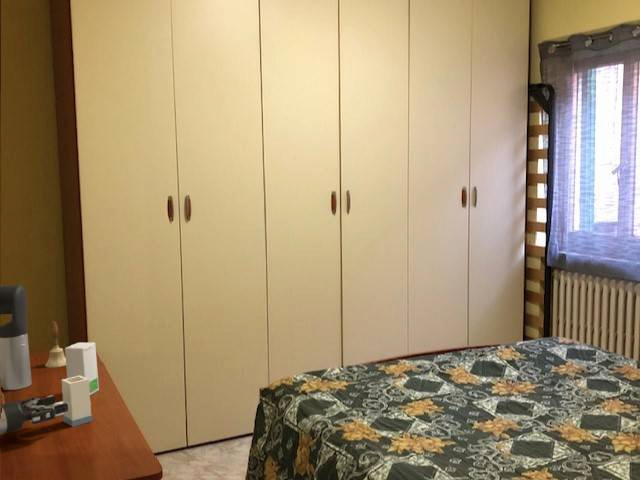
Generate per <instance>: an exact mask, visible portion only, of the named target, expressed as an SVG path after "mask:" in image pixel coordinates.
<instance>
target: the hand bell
mask: <svg viewBox="0 0 640 480" xmlns="http://www.w3.org/2000/svg"><path fill="white" fill-rule="evenodd" d="M50 323H51V324H50V328H49V329H50V334H51V335H50V336H51V338H52V343H53V344H52V345H53V346H52V347H53V348H52V349H50V350H49V357H48V360H47V361H46V363H45V365H44V366H45V367H46V368H49V369H51V368H52V369H54V368H61V367H66V356H65V352H64V349H63V348H62V347H60V346H59V340H58V336H59V327H58V325H57V322H56V321H55V320H52V321H51V322H50Z"/></svg>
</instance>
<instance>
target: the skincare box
mask: <svg viewBox="0 0 640 480" xmlns="http://www.w3.org/2000/svg"><path fill="white" fill-rule="evenodd" d="M64 356H65V358H66V365H65V368H66V379H67V378H71V377H75V376H79V375H80V376H83V377H85V378H87V379H89V391H90V396H91V395H93V394H94V393H95V394H96V392H98V391H99V389H100V387H99V386H100V385H99V374H98V363H97V361H98V359H97V349H96V342H76V343H74V344H71V345H70V346H67V347H65V348H64Z"/></svg>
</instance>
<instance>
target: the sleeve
mask: <svg viewBox="0 0 640 480" xmlns="http://www.w3.org/2000/svg"><path fill="white" fill-rule="evenodd" d="M61 389H62V390H61V392H62V401H63V404H64V403H66V404H68V411H67V412H64V414H63V415H62V421H63V422H64V423H65V424H67V425H68V426H70V427H72V428H73V427H77V426H79V425H84V424H86V423H91V422H93V421H94V416H93V415H94V414H92V408H91V407H92V404H91V405H90V402H91V395H90V391H89V379H87V378H85V377H83V376H80V375H79V376H75V377H71V378H67V377H66V378H63V379H61Z"/></svg>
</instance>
